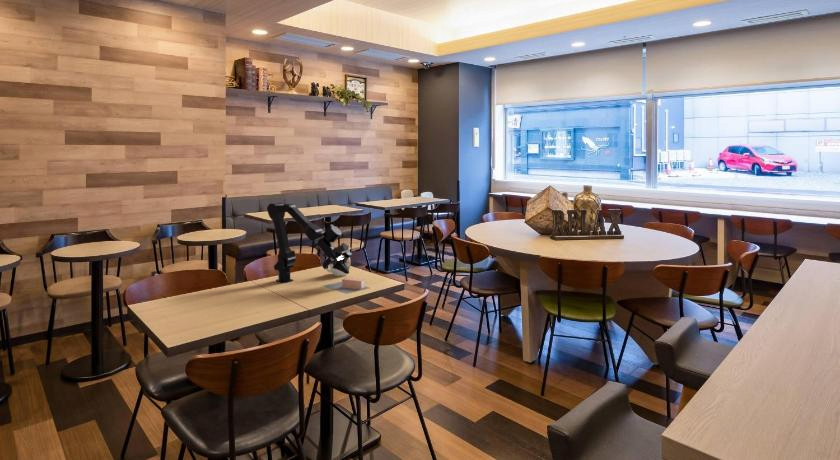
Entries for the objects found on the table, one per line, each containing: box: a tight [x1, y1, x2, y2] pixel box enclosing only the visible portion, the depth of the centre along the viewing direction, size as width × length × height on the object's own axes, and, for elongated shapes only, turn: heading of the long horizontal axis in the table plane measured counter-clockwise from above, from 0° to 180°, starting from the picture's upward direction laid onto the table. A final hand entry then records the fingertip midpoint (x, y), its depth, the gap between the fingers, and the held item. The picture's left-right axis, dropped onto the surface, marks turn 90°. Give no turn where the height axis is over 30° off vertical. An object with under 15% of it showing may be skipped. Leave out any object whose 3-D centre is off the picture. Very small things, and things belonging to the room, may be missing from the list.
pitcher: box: [325, 246, 352, 277], centre depth 265 cm, size 11×18×14 cm, turn 142°
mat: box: [322, 281, 370, 295], centre depth 241 cm, size 20×14×1 cm
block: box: [341, 276, 366, 289], centre depth 240 cm, size 4×4×10 cm
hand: (348, 273), depth 240 cm, fingers closed
